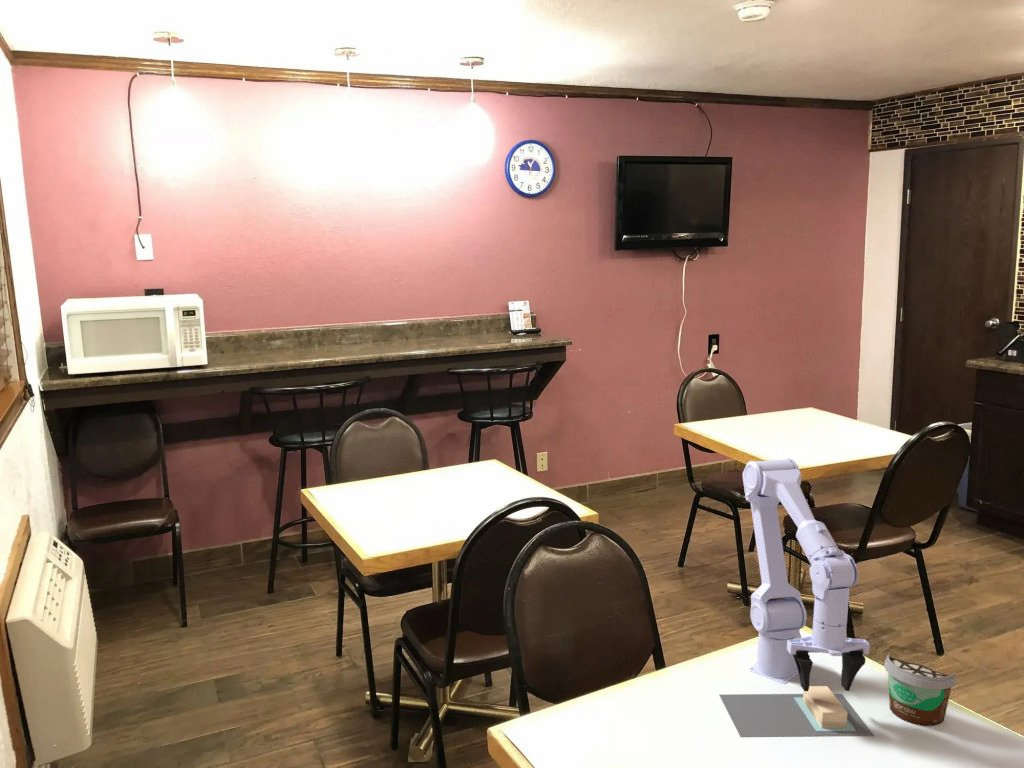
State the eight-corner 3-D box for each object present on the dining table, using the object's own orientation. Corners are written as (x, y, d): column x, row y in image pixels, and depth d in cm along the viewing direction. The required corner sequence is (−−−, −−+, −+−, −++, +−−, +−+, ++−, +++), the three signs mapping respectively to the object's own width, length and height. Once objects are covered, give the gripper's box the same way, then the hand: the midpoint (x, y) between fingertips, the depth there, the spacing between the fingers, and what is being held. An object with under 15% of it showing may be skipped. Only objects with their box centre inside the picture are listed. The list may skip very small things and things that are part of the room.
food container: (871, 712, 153) (875, 662, 151) (882, 699, 157) (886, 650, 156) (942, 738, 144) (947, 686, 143) (952, 724, 149) (957, 673, 147)
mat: (841, 695, 158) (841, 693, 158) (874, 738, 144) (874, 735, 144) (719, 696, 158) (719, 694, 158) (740, 739, 144) (740, 736, 144)
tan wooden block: (802, 700, 155) (803, 686, 155) (826, 700, 156) (827, 685, 155) (821, 727, 147) (822, 712, 146) (846, 727, 147) (847, 712, 146)
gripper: (798, 630, 144) (793, 700, 146) (879, 629, 144) (873, 699, 147) (784, 612, 151) (780, 679, 153) (861, 612, 151) (856, 679, 154)
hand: (824, 688), depth 150 cm, fingers open, 7 cm apart
